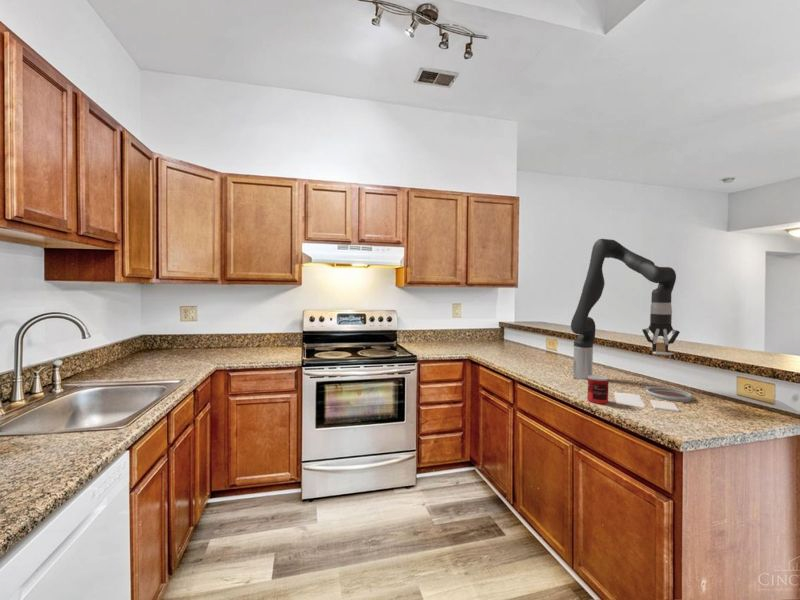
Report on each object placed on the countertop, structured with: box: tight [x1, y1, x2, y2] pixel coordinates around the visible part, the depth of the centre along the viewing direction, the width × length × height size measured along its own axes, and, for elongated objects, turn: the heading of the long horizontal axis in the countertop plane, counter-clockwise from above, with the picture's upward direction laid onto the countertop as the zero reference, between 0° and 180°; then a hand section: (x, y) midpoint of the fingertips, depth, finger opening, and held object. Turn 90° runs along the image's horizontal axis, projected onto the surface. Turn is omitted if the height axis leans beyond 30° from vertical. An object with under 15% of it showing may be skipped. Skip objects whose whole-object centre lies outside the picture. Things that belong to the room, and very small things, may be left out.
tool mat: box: [613, 391, 646, 408], centre depth 158 cm, size 10×19×1 cm, turn 153°
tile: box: [649, 399, 680, 413], centre depth 148 cm, size 8×2×11 cm
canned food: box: [587, 374, 609, 405], centre depth 155 cm, size 8×8×11 cm
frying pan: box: [637, 382, 694, 403], centre depth 169 cm, size 17×3×28 cm
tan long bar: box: [652, 342, 674, 356], centre depth 156 cm, size 15×6×5 cm, turn 153°
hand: (659, 352), depth 158 cm, fingers closed on tan long bar, 2 cm apart
